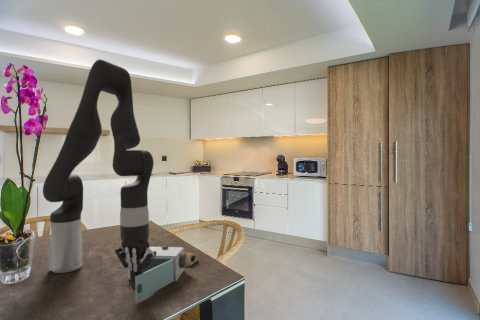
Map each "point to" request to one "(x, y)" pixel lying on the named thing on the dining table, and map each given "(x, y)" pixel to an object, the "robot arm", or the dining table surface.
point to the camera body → (166, 255)
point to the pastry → (191, 258)
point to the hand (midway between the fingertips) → (136, 282)
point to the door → (154, 279)
